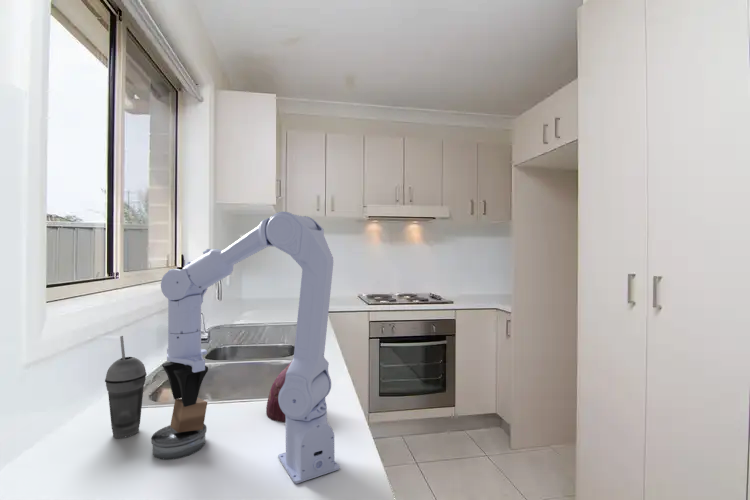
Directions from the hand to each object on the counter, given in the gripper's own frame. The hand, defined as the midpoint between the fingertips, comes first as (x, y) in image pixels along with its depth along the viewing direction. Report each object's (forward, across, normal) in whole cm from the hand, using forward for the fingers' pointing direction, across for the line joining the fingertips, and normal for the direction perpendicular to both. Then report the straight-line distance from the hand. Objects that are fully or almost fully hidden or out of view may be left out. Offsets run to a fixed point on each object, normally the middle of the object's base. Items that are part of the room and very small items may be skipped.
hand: (184, 401), depth 72 cm
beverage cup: (+9, +14, +6) cm, 18 cm away
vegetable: (+9, -2, -22) cm, 24 cm away
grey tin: (+9, 0, +1) cm, 9 cm away
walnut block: (+5, 0, 0) cm, 5 cm away
